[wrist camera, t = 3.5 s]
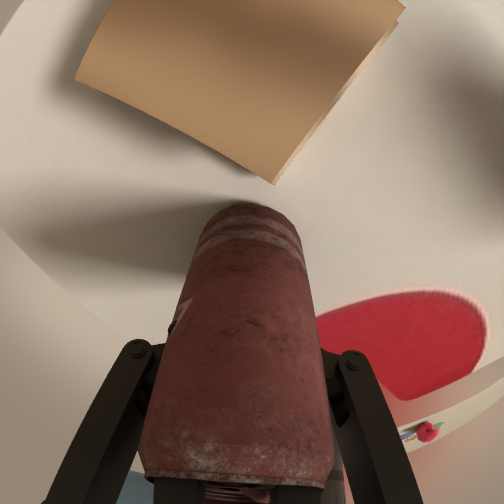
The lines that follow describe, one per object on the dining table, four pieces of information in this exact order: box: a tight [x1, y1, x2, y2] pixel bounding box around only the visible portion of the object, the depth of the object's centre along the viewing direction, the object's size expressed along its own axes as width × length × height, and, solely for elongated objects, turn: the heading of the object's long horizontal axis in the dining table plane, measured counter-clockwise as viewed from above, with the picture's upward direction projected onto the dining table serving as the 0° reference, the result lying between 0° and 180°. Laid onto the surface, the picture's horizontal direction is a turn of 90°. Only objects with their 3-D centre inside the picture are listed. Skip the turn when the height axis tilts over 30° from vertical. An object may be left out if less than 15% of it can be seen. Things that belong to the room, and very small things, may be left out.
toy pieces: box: [400, 422, 444, 442], centre depth 39 cm, size 12×11×4 cm
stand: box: [74, 0, 406, 185], centre depth 9 cm, size 11×11×5 cm
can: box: [138, 204, 335, 503], centre depth 12 cm, size 6×6×14 cm
